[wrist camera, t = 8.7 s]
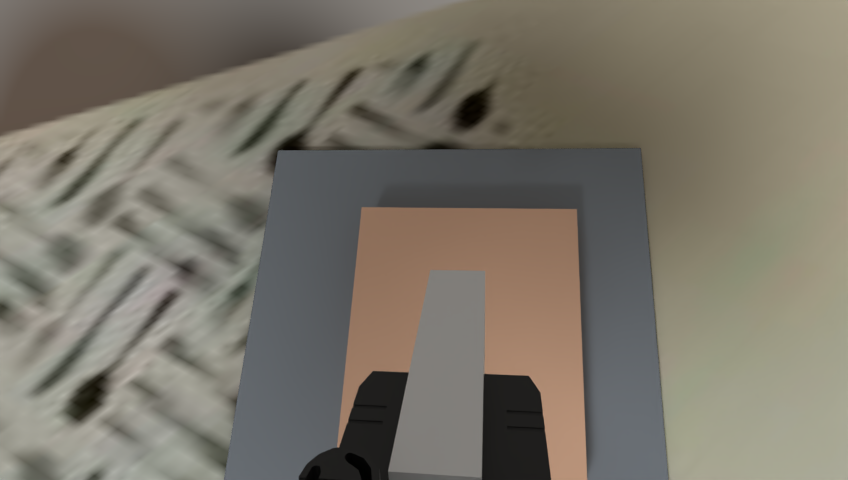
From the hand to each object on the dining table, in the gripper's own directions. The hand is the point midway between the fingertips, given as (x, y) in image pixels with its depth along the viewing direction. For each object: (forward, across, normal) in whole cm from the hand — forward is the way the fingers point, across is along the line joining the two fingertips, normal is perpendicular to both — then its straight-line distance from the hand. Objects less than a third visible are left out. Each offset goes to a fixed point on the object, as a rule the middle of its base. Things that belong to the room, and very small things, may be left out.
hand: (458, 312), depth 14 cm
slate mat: (+7, -1, -7) cm, 10 cm away
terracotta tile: (+2, 0, -10) cm, 10 cm away
